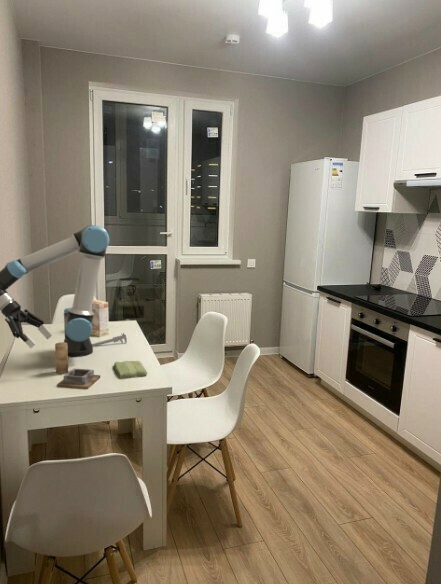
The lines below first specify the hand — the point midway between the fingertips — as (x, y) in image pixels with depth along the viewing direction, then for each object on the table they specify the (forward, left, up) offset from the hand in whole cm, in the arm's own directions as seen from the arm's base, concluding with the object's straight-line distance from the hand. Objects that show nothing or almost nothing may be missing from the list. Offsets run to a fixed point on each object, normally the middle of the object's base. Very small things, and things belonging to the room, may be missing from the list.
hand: (41, 341), depth 188 cm
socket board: (+8, +21, -14) cm, 26 cm away
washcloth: (-8, +37, -14) cm, 40 cm away
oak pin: (-1, +9, -14) cm, 16 cm away
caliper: (-43, +13, -14) cm, 47 cm away
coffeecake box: (-64, -2, -14) cm, 65 cm away
